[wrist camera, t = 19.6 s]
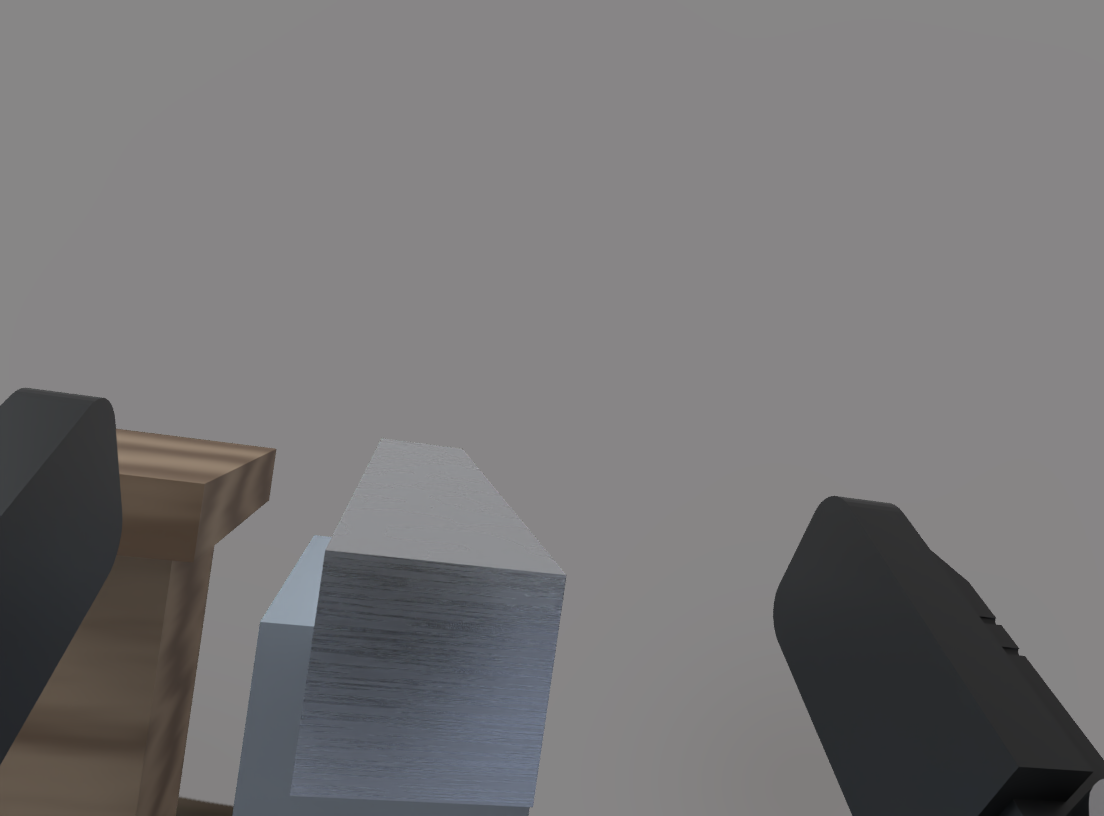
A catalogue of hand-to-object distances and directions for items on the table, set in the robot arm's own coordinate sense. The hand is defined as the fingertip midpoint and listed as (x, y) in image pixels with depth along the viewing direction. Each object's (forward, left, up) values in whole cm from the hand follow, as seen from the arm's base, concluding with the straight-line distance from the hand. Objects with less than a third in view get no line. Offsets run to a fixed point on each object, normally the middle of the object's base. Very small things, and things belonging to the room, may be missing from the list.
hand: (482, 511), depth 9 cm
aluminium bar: (-8, +15, -6) cm, 18 cm away
